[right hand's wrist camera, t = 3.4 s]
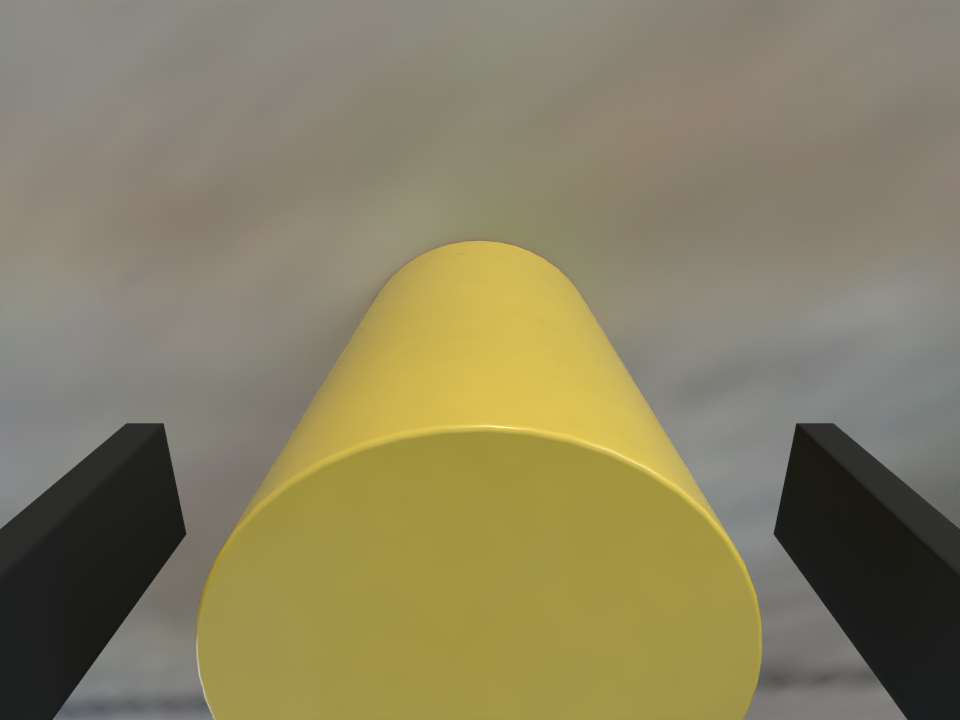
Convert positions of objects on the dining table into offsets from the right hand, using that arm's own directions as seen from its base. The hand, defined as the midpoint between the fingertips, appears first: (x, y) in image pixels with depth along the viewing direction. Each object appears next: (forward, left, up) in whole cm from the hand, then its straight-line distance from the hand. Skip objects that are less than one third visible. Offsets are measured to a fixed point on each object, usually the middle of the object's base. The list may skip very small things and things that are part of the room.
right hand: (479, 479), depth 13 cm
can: (0, 0, -8) cm, 8 cm away
